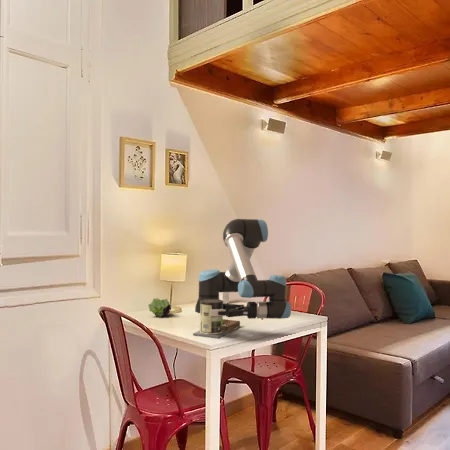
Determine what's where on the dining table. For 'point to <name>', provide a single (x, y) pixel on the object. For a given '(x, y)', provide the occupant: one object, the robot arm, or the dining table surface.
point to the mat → (211, 335)
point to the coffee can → (210, 317)
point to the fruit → (160, 307)
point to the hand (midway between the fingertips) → (209, 309)
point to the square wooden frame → (230, 324)
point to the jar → (224, 297)
